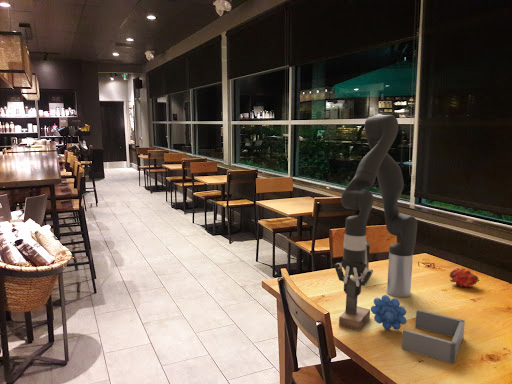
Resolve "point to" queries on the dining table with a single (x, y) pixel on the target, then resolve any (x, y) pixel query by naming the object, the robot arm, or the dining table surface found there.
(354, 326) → the post on wooden base
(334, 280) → the dining table surface
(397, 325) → the grapes
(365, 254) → the coffee box
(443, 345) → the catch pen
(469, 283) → the dragon fruit
